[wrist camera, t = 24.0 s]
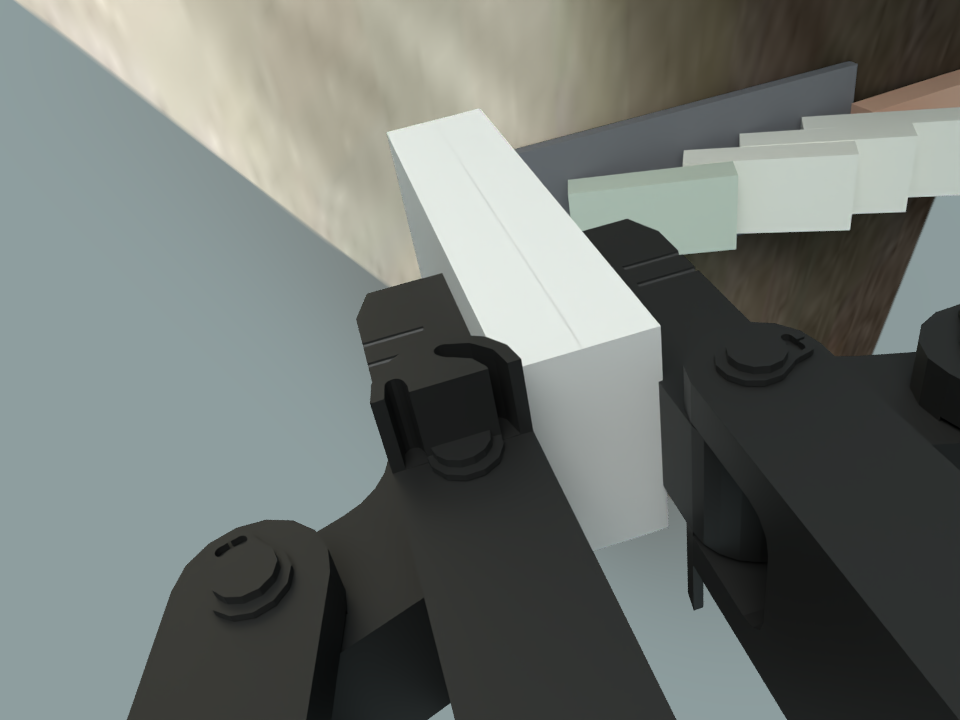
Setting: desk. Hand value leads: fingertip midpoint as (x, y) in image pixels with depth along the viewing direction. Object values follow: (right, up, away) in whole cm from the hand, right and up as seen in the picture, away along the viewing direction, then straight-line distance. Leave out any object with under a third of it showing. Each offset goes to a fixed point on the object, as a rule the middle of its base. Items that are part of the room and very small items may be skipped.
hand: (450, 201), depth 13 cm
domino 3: (+17, +9, +40) cm, 45 cm away
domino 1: (+6, +6, +39) cm, 40 cm away
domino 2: (+14, +8, +39) cm, 42 cm away
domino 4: (+21, +11, +40) cm, 47 cm away
